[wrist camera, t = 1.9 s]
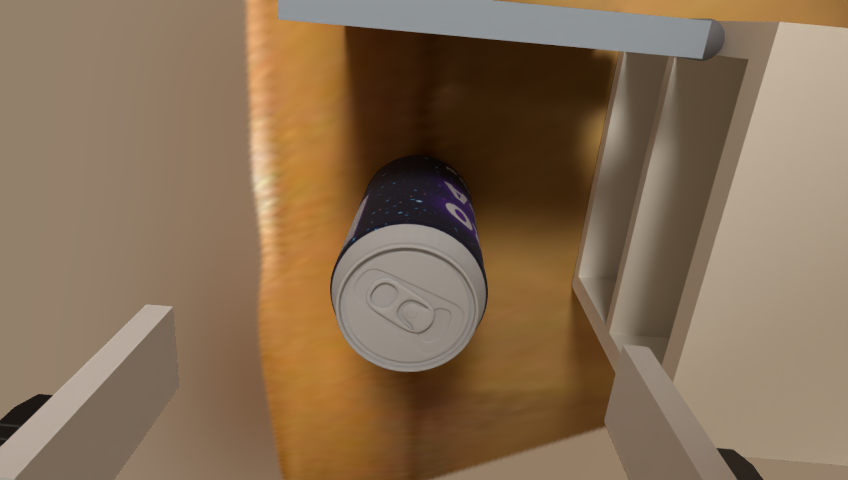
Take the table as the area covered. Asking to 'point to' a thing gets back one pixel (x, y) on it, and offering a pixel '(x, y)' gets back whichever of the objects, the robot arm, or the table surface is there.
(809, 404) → the cabinet
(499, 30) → the door
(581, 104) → the table surface
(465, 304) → the beverage can
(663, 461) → the robot arm
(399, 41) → the table surface
